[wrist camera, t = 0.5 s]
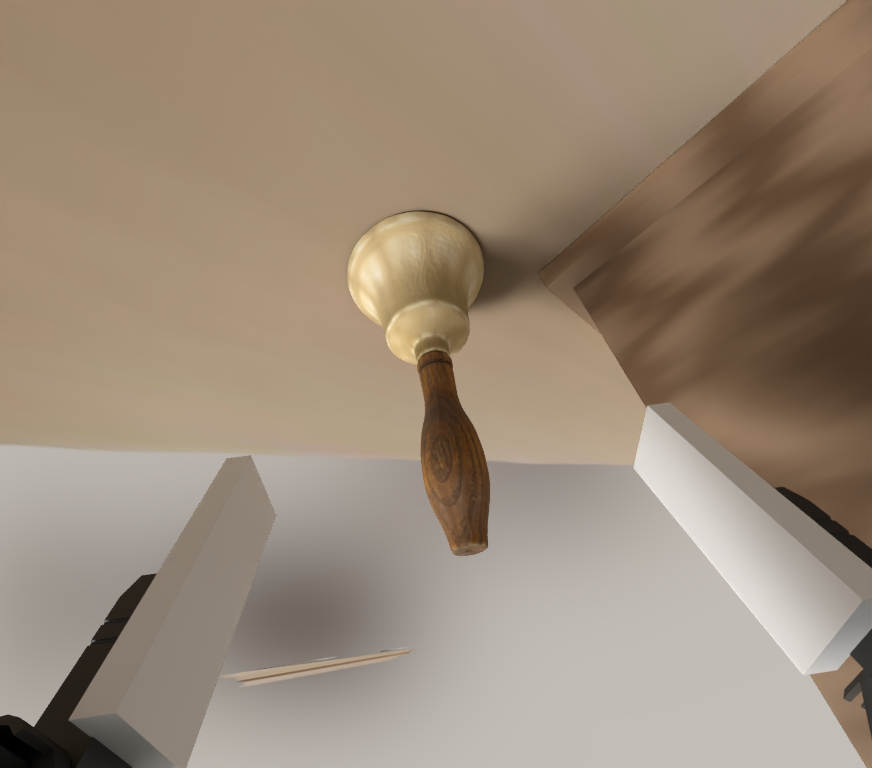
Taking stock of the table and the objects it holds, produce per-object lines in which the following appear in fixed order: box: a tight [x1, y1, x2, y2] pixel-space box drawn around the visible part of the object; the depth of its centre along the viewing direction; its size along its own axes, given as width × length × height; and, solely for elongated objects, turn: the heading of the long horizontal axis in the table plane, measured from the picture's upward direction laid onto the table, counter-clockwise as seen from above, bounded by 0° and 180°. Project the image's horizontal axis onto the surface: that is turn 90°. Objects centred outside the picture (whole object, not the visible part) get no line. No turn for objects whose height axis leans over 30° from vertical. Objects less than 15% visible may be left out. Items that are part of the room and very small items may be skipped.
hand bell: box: [347, 211, 490, 556], centre depth 18 cm, size 8×8×16 cm
